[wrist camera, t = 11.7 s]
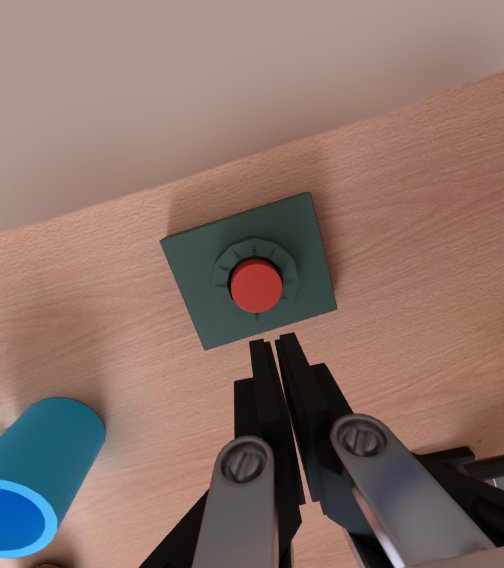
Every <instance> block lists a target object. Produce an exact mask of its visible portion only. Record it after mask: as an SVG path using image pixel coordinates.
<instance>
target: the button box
mask: <svg viewBox="0 0 504 568" xmlns="http://www.w3.org/2000/svg"><path fill="white" fill-rule="evenodd" d="M160 243H161V246H162V248H163V251H164V253H165V256H166V258H167V260H168V263H169V265H170V268H171V270H172V273H173V275H174V277H175V280H176V282H177V285H178V287H179V290H180V292H181V294H182V297H183V299H184V302H185V304H186V307H187V309H188V311H189V314H190V316H191V319H192V321H193V324H194V326H195V328H196V331H197V333H198V336H199V338H200V341H201V343H202V345H203V348H204V350H208V349H212V348H215V347H218V346H221V345H224V344H228V343H231V342H234V341H237V340H241V339H244V338H247V337H250V336H253V335H257V334H260V333H263V332H266V331H269V330H273V329H276V328H279V327H282V326H286V325H289V324H292V323H295V322H298V321H302V320H305V319H308V318H311V317H315V316H318V315H321V314H324V313H327V312H331V311H334V310H337V304H336V300H335V296H334V291H333V287H332V283H331V278H330V274H329V270H328V265H327V261H326V257H325V253H324V248H323V244H322V240H321V235H320V231H319V227H318V222H317V218H316V214H315V209H314V205H313V201H312V196H311V193H310V192H305V193H300V194H297V195H294V196H291V197H288V198H285V199H282V200H279V201H276V202H272V203H269V204H266V205H263V206H260V207H257V208H254V209H251V210H248V211H245V212H241V213H238V214H235V215H232V216H229V217H226V218H223V219H220V220H217V221H214V222H210V223H207V224H204V225H201V226H198V227H195V228H192V229H189V230H186V231H183V232H179V233H176V234H173V235H170V236H167V237H165V238H163V239H161V240H160ZM250 259H261V260H264V261H267V262H268V263H270V264H271V265H272V266H273V267H274V268H275V270H276V271H277V273H278V275H279V276H280V278H281V281H282V294H281V297H280V299H279V301H278V302H277V303H276V304H275V305H274V306H273V307H272V308H270V309H269V310H267V311H264V312H259V313H254V312H248V311H246V310H244V309H242V308H241V307H239V306H238V305H237V304H236V302H235V301H234V299H233V297H232V292H231V279H232V275H233V273H234V271H235V269H236V268H237V267H238V266H239V265H240V264H241V263H243V262H244V261H247V260H250Z"/></svg>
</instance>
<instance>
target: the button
mask: <svg viewBox="0 0 504 568" xmlns="http://www.w3.org/2000/svg"><path fill="white" fill-rule="evenodd" d="M231 292H232V297H233V299H234V301H235V302H236V304H237V305H238V306H239V307H241V308H242V309H244V310H246V311H248V312H254V313H259V312H264V311H267V310H269V309H270V308H272V307H273V306H274V305H275V304H276V303H277V302H278V301H279V299H280V297H281V294H282V281H281V278H280V276H279V275H278V273H277V271H276V270H275V268H274V267H273V266H272V265H271V264H270V263H268V262H267V261H264V260H261V259H250V260H247V261H244V262H243V263H241V264H240V265H239V266H238V267H237V268H236V269H235V271H234V273H233V275H232V279H231Z"/></svg>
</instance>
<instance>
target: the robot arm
mask: <svg viewBox="0 0 504 568" xmlns="http://www.w3.org/2000/svg"><path fill="white" fill-rule="evenodd" d="M249 345H250V354H251V362H252V371H253V377H252V378H247V379H243V380H238V381H235V382H234V433H235V439H234V440H232V441H230V442H229V443H228V444H227V445H225V446H224V447H223V448H222V450H221V451H220V452H219V454H218V456H217V459H216V461H215V465H214V470H213V474H212V479H211V483H210V488H209V489H208V490H207V491H206V492H205V494H204V495H203V496H202V497H201V498H200V499H199V500H198V501H197V503H196V504H195V505H194V506H193V507H192V508H191V509H190V510H189V512H188V513H187V514H186V515H185V516H184V517H183V518H182V519H181V521H180V522H179V523H178V524H177V525H176V526H175V527H174V528H173V530H172V531H171V532H170V533H169V534H168V535H167V536H166V537H165V538H164V540H163V541H162V542H161V543H160V544H159V545H158V546H157V547H156V549H155V550H154V551H153V552H152V553H151V554H150V555H149V556H148V558H147V559H146V560H145V561H144V562H143V563H142V564H141V565H140V567H139V568H294V550H293V544H292V539H293V537H294V535H295V534H296V532H297V530H298V528H299V527H300V525H301V523H302V520H301V514H300V509H299V505H303V504H306V502H305V496H304V491H303V485H302V480H301V475H300V469H299V464H298V458H297V453H296V447H295V442H294V437H293V431H294V435H295V439H296V442H297V446H298V450H299V454H300V457H301V461H302V465H303V469H304V472H305V476H306V480H307V484H308V488H309V491H310V495H311V499H312V502H317V501H320V504H321V508H322V511H323V515H327V517H328V518H330V519H331V520H333V521H334V522H336V523H337V524H339V525H340V526H342V529H343V532H344V535H345V538H346V540H347V542H348V544H349V546H350V549H351V551H352V553H353V555H354V557H355V559H356V561H357V563H358V565H359V568H504V490H502V489H500V488H497V487H495V486H492V485H490V484H488V483H485V482H483V481H480V480H478V479H475V478H473V477H471V476H468V475H466V474H463V473H461V472H459V471H456V470H454V469H451V468H449V467H446V466H444V465H442V464H439V463H437V462H434V461H432V460H430V459H427V458H425V457H422V456H420V455H417V454H415V453H413V452H410V451H409V450H408V449H407V448H406V447H405V446H404V445H403V443H402V442H401V441H400V440H399V439H398V438H397V437H396V436H395V435H394V434H393V432H392V431H391V430H390V429H389V428H388V427H387V426H386V425H385V424H384V423H382V422H381V421H380V420H378V419H376V418H374V417H372V416H369V415H365V414H354V413H353V411H352V410H351V408H350V406H349V404H348V403H347V401H346V399H345V397H344V396H343V394H342V392H341V390H340V388H339V387H338V385H337V383H336V381H335V380H334V378H333V376H332V374H331V373H330V371H329V369H328V367H327V366H326V364H325V363H320V364H316V365H311V366H310V365H309V363H308V361H307V359H306V357H305V355H304V352H303V350H302V348H301V346H300V344H299V342H298V340H297V338H296V335H295V333H294V332H293V333H288V334H283V335H280V339H278V340H275V345H276V351H277V356H278V361H279V367H280V372H281V377H282V383H283V388H284V393H283V389H282V385H281V382H280V378H279V374H278V370H277V367H276V363H275V359H274V355H273V352H272V348H271V344H270V341H269V342H264V339H259V340H254V341H249ZM284 394H285V397H284ZM285 399H286V401H285ZM290 420H291V421H290ZM291 423H292V426H291ZM292 427H293V431H292Z"/></svg>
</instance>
